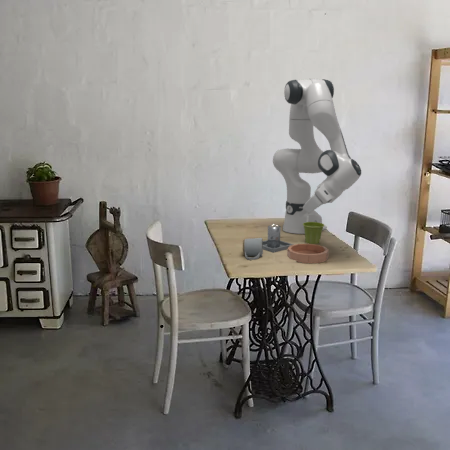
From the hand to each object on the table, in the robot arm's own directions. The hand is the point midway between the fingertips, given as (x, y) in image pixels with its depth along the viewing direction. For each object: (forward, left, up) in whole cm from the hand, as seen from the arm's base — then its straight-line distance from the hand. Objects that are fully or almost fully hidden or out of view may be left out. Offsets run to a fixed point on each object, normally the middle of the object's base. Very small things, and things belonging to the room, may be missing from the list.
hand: (302, 213), depth 238 cm
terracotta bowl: (+4, +7, -17) cm, 18 cm away
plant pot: (-13, -6, -17) cm, 22 cm away
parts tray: (+6, -11, -17) cm, 21 cm away
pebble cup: (+6, -11, -16) cm, 20 cm away
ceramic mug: (+21, -7, -17) cm, 28 cm away
